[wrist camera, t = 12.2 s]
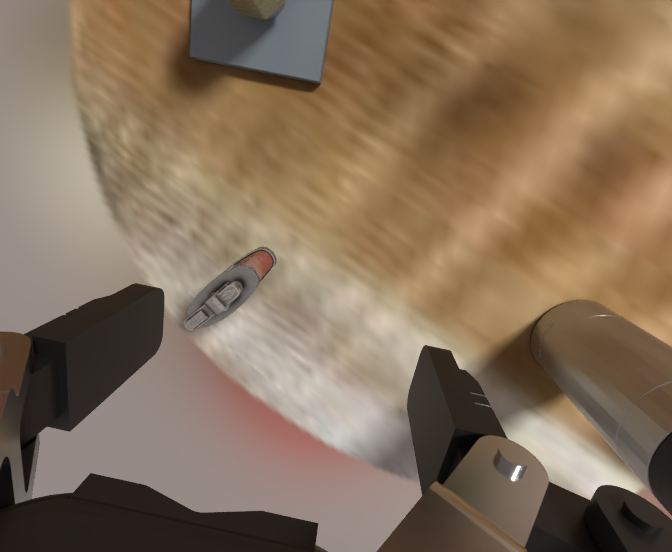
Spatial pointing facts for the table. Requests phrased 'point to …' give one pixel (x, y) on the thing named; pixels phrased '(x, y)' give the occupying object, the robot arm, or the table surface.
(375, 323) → the table surface
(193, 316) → the small tin
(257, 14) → the bushing
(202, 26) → the grey peg stand
